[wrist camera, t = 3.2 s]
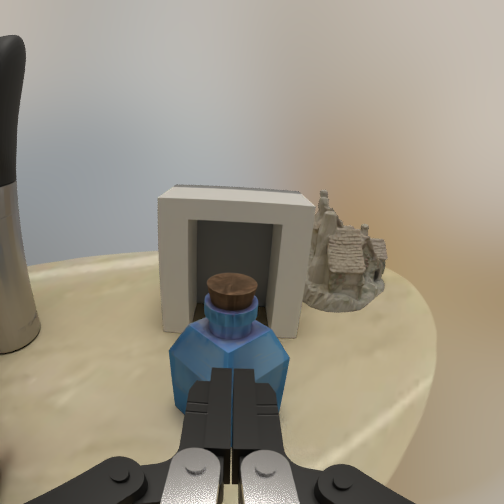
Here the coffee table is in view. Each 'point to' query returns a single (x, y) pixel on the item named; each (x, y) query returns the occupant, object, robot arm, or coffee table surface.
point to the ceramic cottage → (342, 264)
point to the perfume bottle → (227, 341)
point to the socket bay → (234, 249)
